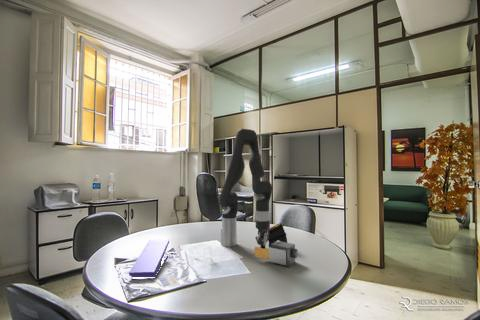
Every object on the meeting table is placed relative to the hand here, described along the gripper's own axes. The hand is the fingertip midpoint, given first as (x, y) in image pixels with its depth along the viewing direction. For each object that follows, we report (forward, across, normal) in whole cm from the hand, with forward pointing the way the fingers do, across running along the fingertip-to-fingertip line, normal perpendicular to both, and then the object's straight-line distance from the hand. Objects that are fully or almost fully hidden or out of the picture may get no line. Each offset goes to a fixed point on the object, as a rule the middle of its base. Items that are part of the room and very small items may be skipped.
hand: (262, 251), depth 123 cm
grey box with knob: (+4, -2, +11) cm, 12 cm away
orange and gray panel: (+3, +3, +6) cm, 7 cm away
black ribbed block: (+4, -19, 0) cm, 20 cm away
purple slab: (+5, +35, -44) cm, 57 cm away
